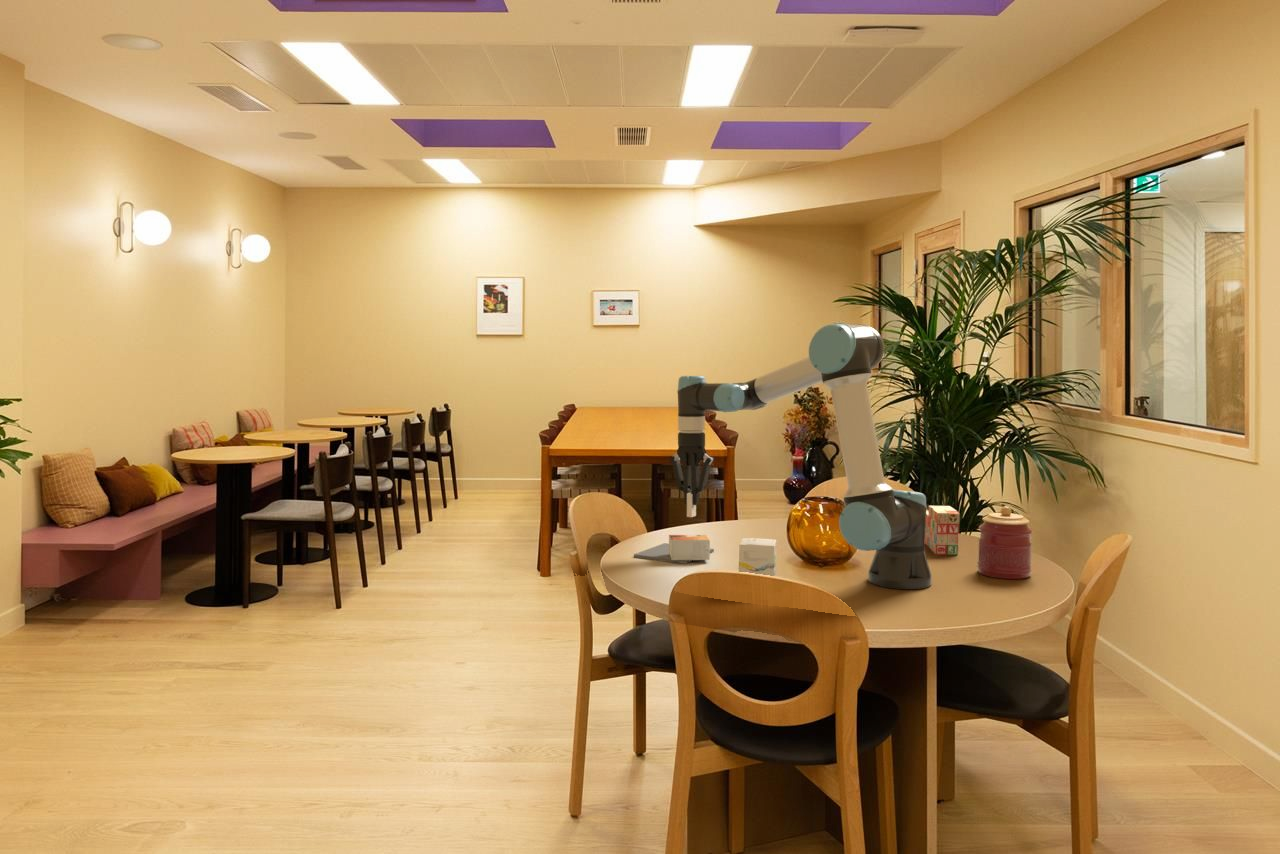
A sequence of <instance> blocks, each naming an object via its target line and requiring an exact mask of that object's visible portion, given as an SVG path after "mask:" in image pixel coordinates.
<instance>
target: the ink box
mask: <svg viewBox="0 0 1280 854" xmlns="http://www.w3.org/2000/svg"><path fill="white" fill-rule="evenodd" d="M738 552H739V553H738V573H739V572H749V573H755V574H763V575H770V576H776V575H777V569H776V568H777V539H776V538H775V539H772V538H757V537H749V538H748V537H747V538H745V537H743V538H742V539H741V541H740V543H739V551H738Z"/></svg>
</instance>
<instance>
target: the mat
mask: <svg viewBox="0 0 1280 854" xmlns="http://www.w3.org/2000/svg"><path fill="white" fill-rule="evenodd" d="M711 552H712V553H714V552H715V549H714V548H710V554H712V553H711ZM633 558H638V559H644V560H652V559H653V561H659V560H661V561H662V562H667V561H669V562H668V563H675V562H680V563H679V564H683V563H686V564H688V563H687V562H689V561H691V560H671V557H670V555H669V542H668V543H667V542H666V543H665V542H664V543H662V544H659V545H656V546H653V547H651V548H647V549H645V550H641V551H640V552H639V551H638V552H637V553H634V554H633ZM661 561H660V562H661ZM681 562H682V563H681ZM691 562H692V561H691ZM689 563H690V562H689Z"/></svg>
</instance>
